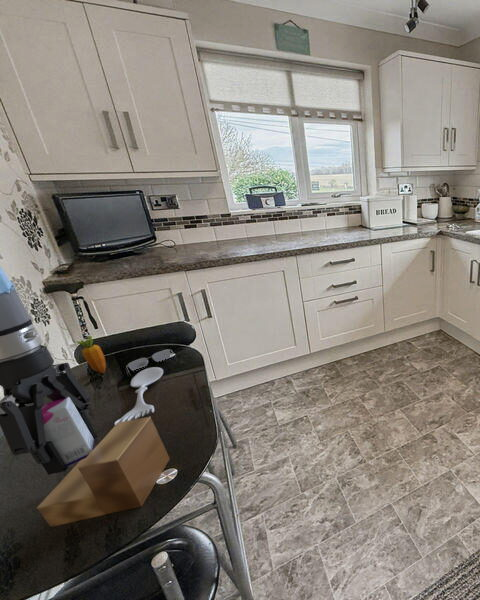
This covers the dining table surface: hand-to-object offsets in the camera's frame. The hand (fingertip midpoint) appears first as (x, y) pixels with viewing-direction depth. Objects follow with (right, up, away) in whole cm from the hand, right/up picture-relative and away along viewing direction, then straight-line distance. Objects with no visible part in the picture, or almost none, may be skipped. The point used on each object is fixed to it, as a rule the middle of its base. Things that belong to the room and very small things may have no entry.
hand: (74, 454), depth 64 cm
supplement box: (0, 0, 0) cm, 0 cm away
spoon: (-14, 0, +36) cm, 39 cm away
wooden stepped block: (+4, -10, +4) cm, 11 cm away
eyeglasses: (-25, +6, +54) cm, 59 cm away
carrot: (-43, +4, +53) cm, 68 cm away
